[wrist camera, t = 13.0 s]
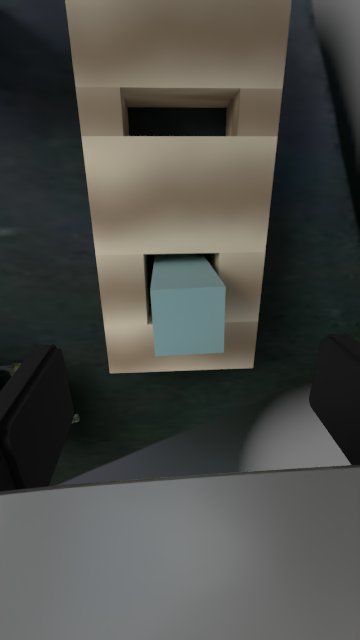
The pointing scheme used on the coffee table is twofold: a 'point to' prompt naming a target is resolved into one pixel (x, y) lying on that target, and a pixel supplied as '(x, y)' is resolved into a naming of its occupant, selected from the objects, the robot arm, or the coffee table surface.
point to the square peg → (187, 305)
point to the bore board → (178, 157)
